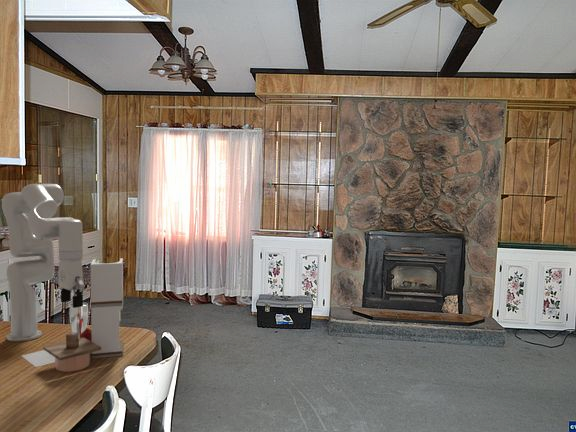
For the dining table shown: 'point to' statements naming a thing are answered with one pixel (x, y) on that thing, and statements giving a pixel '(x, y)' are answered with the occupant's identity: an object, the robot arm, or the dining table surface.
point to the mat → (39, 358)
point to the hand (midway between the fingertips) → (71, 304)
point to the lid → (72, 347)
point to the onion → (87, 334)
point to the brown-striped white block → (106, 307)
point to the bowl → (73, 363)
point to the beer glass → (79, 318)
